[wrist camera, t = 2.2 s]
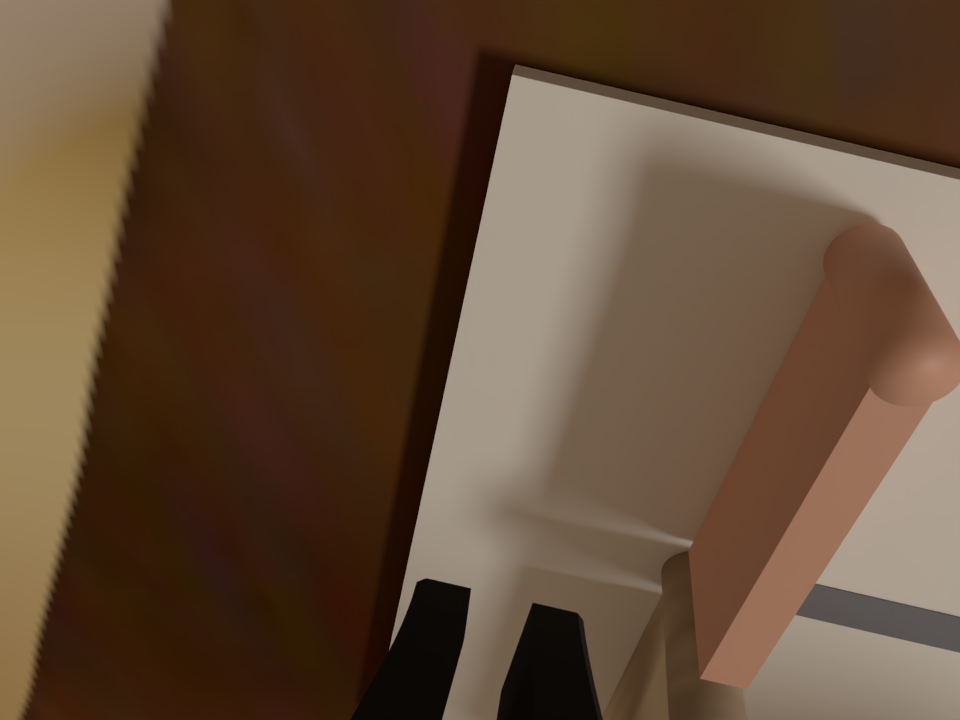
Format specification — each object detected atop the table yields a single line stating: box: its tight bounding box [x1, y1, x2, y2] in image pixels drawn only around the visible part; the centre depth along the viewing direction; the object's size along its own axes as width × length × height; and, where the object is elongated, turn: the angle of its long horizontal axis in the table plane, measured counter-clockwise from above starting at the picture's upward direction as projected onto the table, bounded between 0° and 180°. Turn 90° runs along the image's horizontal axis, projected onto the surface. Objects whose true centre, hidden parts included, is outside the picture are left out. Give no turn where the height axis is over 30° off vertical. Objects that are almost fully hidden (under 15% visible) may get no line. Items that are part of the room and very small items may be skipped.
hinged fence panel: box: [689, 224, 960, 689], centre depth 17 cm, size 9×1×4 cm, turn 169°
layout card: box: [389, 64, 960, 720], centre depth 22 cm, size 18×21×1 cm
